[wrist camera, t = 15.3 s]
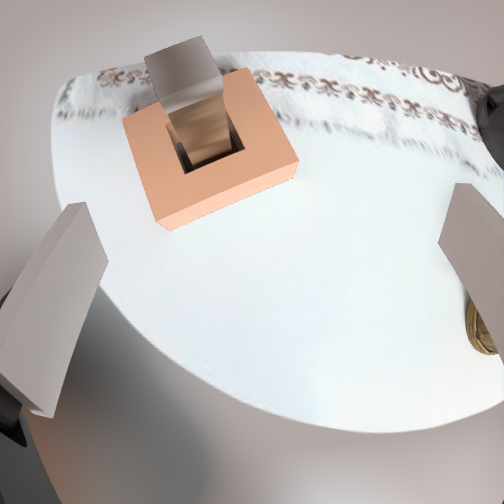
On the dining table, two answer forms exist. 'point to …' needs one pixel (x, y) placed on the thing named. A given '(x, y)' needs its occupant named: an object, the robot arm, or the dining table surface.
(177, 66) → the silver-capped wooden peg
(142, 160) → the terracotta holder
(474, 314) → the wooden mug
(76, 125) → the dining table surface
